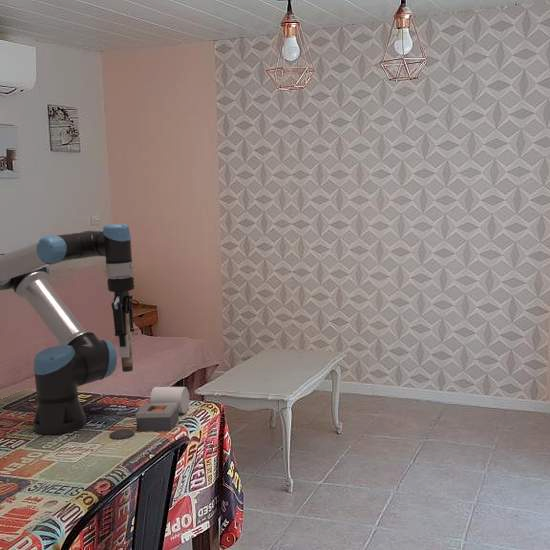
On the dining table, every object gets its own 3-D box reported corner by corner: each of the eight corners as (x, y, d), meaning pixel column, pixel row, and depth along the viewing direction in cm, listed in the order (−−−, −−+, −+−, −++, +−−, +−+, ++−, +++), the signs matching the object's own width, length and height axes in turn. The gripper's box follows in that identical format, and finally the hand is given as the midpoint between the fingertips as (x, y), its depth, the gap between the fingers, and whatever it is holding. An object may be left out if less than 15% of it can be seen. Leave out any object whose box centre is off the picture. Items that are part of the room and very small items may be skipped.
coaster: (106, 439, 209) (106, 438, 209) (113, 431, 216) (113, 429, 216) (130, 439, 209) (130, 437, 209) (137, 430, 216) (137, 429, 216)
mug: (182, 416, 227) (180, 391, 226) (150, 416, 229) (148, 391, 228) (194, 404, 239) (192, 380, 238) (164, 404, 241) (162, 380, 240)
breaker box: (136, 431, 215) (135, 413, 215) (146, 420, 225) (144, 403, 224) (171, 430, 214) (169, 413, 214) (178, 419, 224) (177, 402, 223)
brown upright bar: (120, 372, 221) (116, 315, 219) (124, 369, 224) (119, 313, 222) (131, 371, 221) (127, 314, 219) (134, 368, 224) (130, 312, 222)
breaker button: (149, 420, 218) (149, 412, 217) (153, 416, 221) (152, 408, 221) (162, 420, 217) (162, 412, 217) (165, 416, 221) (165, 408, 221)
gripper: (124, 280, 211) (131, 361, 214) (140, 272, 227) (146, 348, 230) (98, 281, 211) (105, 362, 214) (116, 273, 227) (122, 349, 230)
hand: (126, 355), depth 222 cm, fingers closed on brown upright bar, 3 cm apart
